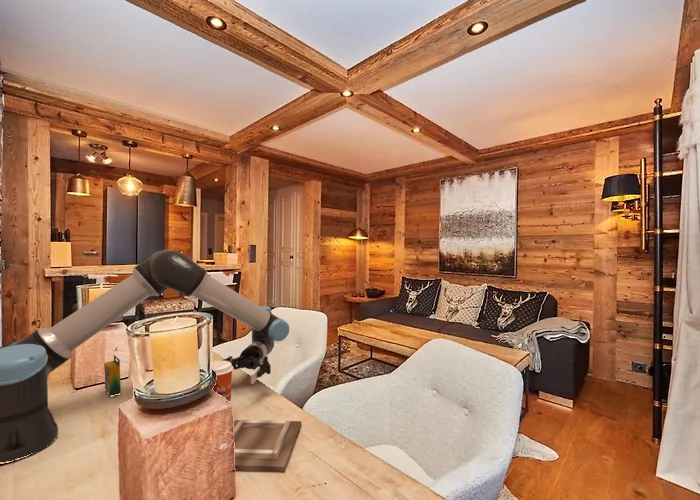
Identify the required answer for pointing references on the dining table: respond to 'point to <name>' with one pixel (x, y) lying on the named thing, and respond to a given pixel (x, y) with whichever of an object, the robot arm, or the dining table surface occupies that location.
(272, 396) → the dining table surface
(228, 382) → the coffee cup
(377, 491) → the dining table surface
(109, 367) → the crayon box
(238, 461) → the walnut board
